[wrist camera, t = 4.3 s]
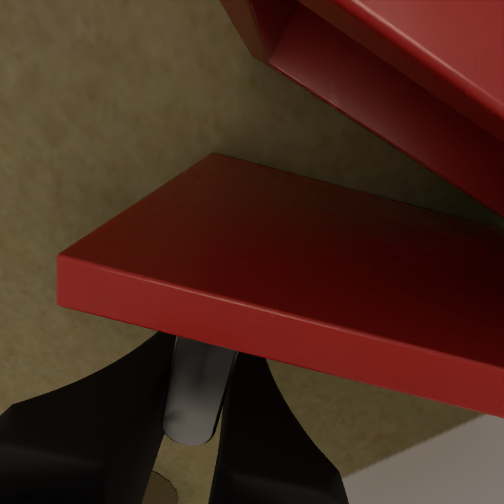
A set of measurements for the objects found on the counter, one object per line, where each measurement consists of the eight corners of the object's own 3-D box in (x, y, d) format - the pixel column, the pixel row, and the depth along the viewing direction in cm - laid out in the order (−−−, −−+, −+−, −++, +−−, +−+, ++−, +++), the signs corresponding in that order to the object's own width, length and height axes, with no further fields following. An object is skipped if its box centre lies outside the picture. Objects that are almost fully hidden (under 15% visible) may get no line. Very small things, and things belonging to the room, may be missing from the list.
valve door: (440, 342, 16) (658, 667, 7) (188, 278, 16) (54, 523, 7) (508, 230, 14) (986, 492, 4) (212, 152, 14) (54, 253, 4)
